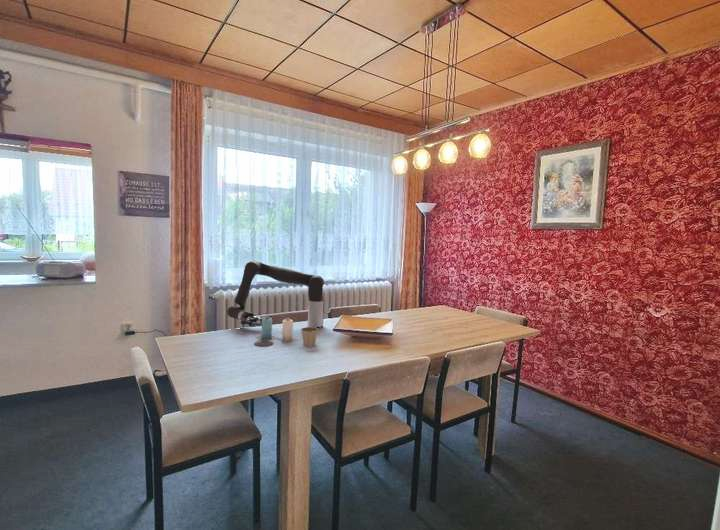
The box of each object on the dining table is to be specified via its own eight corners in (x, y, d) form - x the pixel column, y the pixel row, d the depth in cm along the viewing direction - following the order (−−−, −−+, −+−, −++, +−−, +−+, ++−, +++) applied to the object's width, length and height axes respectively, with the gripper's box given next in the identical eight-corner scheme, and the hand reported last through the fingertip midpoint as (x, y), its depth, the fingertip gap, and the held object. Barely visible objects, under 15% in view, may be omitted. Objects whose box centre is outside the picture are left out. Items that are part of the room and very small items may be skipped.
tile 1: (270, 335, 204) (270, 334, 204) (278, 339, 197) (278, 338, 197) (254, 338, 197) (254, 337, 197) (262, 342, 190) (262, 341, 190)
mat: (268, 340, 193) (268, 339, 193) (277, 345, 186) (277, 344, 186) (251, 344, 187) (251, 342, 187) (259, 349, 179) (259, 347, 179)
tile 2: (290, 337, 203) (290, 336, 203) (299, 341, 195) (299, 340, 195) (274, 339, 196) (274, 338, 196) (283, 344, 189) (283, 343, 189)
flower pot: (298, 343, 192) (298, 327, 192) (314, 341, 196) (315, 326, 196) (303, 348, 184) (303, 332, 183) (320, 346, 188) (320, 330, 187)
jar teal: (268, 336, 201) (269, 315, 200) (273, 338, 197) (274, 317, 196) (259, 337, 197) (260, 316, 196) (264, 340, 193) (264, 318, 192)
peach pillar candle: (289, 337, 200) (289, 317, 199) (294, 340, 195) (294, 319, 194) (280, 339, 196) (280, 318, 195) (285, 341, 192) (285, 320, 191)
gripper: (235, 312, 212) (246, 318, 200) (257, 310, 221) (269, 315, 209) (234, 324, 212) (246, 330, 200) (257, 321, 222) (268, 327, 210)
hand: (257, 322), depth 205 cm, fingers open, 8 cm apart
